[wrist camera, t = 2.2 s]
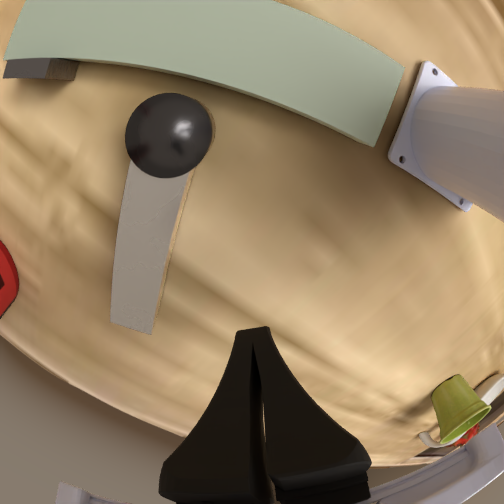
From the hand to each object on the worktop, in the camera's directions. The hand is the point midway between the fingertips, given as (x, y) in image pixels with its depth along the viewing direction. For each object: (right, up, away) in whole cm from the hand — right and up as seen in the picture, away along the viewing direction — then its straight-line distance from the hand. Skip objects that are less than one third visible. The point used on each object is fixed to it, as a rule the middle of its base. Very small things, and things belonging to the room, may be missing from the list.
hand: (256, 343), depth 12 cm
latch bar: (-6, +6, +5) cm, 10 cm away
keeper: (-13, +16, -1) cm, 20 cm away
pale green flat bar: (-4, +16, 0) cm, 17 cm away
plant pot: (+30, -17, +20) cm, 40 cm away
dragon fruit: (+55, -42, +35) cm, 78 cm away
